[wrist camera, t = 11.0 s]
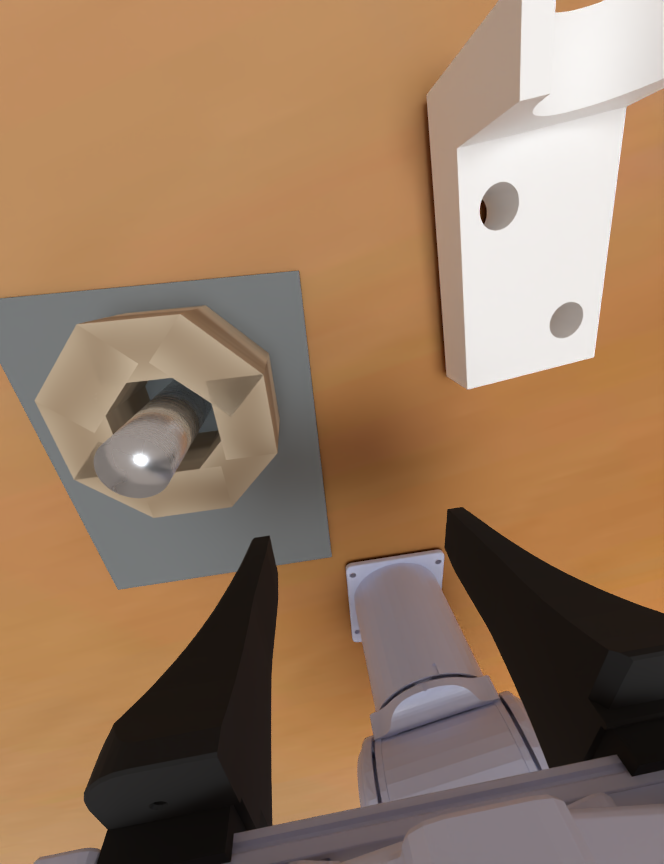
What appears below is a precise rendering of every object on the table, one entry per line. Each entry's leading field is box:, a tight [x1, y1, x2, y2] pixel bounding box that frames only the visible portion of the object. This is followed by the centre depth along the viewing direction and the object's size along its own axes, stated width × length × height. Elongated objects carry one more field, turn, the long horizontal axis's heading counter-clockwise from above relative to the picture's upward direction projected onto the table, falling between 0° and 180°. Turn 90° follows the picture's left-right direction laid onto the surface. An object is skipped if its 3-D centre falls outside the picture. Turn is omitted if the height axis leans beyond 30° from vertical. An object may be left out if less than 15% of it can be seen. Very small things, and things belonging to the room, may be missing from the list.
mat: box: [0, 271, 332, 590], centre depth 21 cm, size 20×16×1 cm
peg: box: [94, 379, 212, 498], centre depth 16 cm, size 3×3×8 cm
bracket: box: [427, 0, 664, 390], centre depth 15 cm, size 13×7×8 cm, turn 13°
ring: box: [34, 305, 280, 518], centre depth 17 cm, size 10×10×4 cm
